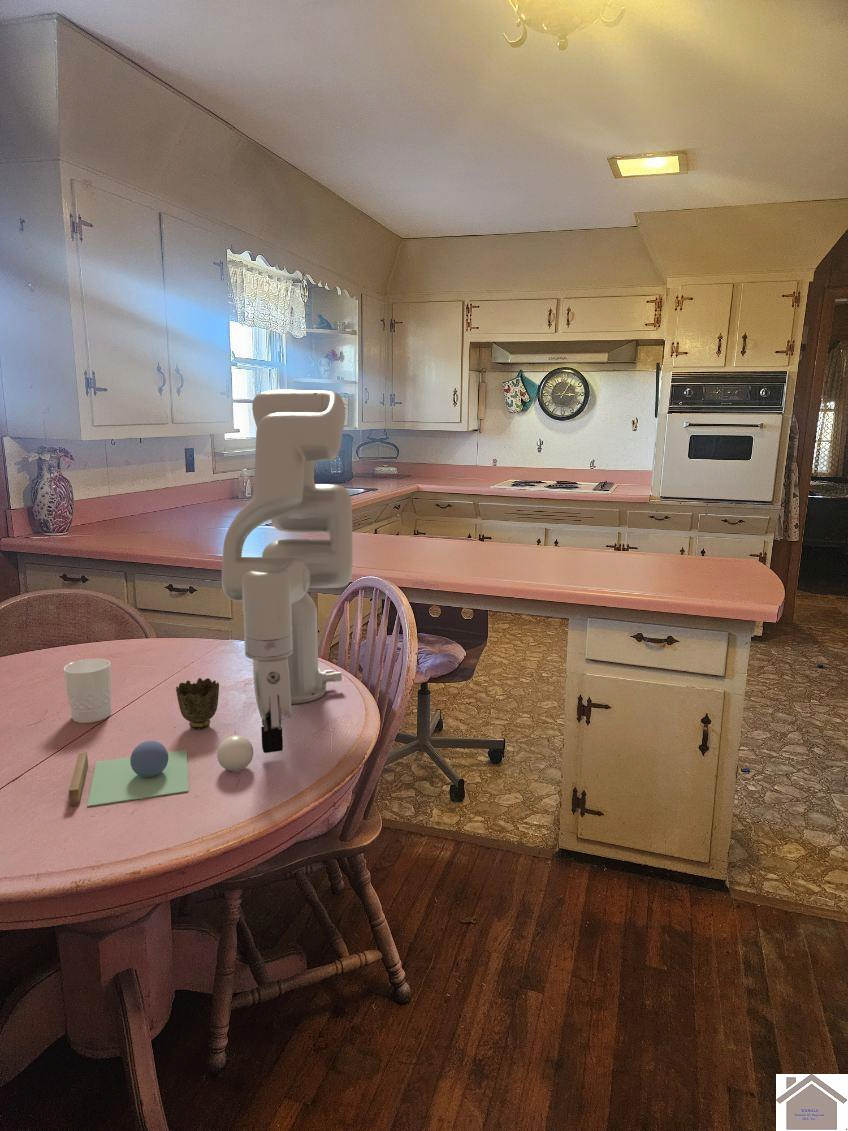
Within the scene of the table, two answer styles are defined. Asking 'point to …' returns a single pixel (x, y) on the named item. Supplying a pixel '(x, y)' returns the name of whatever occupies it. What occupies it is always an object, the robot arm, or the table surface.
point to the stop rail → (78, 779)
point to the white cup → (89, 689)
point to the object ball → (149, 759)
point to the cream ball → (235, 753)
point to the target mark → (136, 780)
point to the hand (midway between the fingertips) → (272, 749)
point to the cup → (198, 702)
